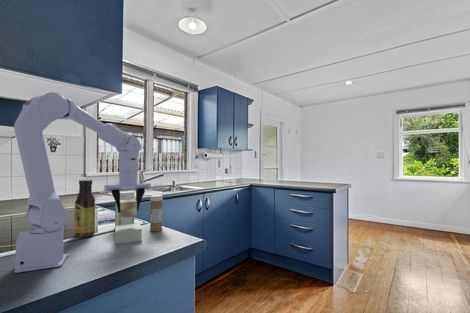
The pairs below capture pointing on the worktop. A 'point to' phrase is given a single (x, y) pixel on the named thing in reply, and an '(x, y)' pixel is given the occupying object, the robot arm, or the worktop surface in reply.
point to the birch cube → (128, 208)
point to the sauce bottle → (84, 210)
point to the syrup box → (119, 221)
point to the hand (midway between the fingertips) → (128, 211)
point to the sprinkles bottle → (156, 212)
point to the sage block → (128, 233)
